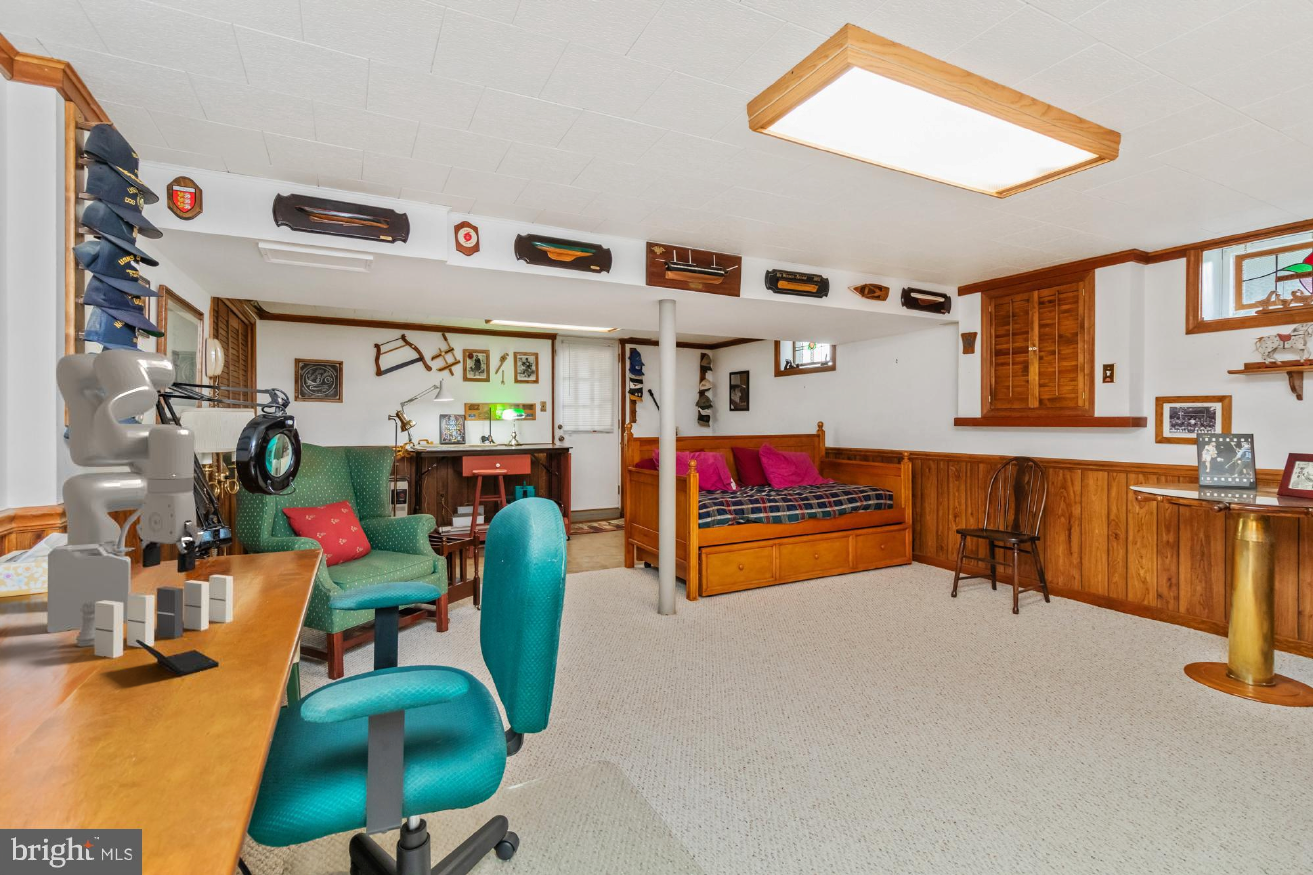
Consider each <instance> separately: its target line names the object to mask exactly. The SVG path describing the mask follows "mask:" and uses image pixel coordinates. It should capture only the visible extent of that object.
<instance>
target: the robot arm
mask: <svg viewBox="0 0 1313 875" xmlns="http://www.w3.org/2000/svg"><path fill="white" fill-rule="evenodd" d="M175 368H176V367H175V365H174V363H173V361H172V359H171V358H169V356H167V355H165V354H162V353H159V352H151V351H139V350H132V349H131V350H130V349H120V348H119V349H118V348H117V349H116V348H115V349H114V348H113V349H107V350H104V351H101V352H99V353H98V354H96V353H72V354H67V355H64V356H63V357H61V358H59V360H58V362H57V364H56V370H55V375H56V378H55V379H56V383H57V387H58V390H59V393H60V394H61V396H62V398H63V401H64V402H65V403H64V404H65V405H66V409H67V414H68V416H67V417H68V420H67V421H68V442H69V443H68V445H69V455H70V459H71V461H72V462H73V464H75V465H76V466H79V467H82V468H83V467H84V468H110V467H111V468H114V467H118V468H119V467H120V468H121V467H128V468H129V471H119V472H118V471H115V472H114V471H111V472H110V471H109V472H106V471H105V472H89V473H88V472H86V473H82V474H81V473H80V474H76V475H73V476H71V477H70V478H68V479H67V480H66V481H65V482H64V484H63V485H62V489H61V490H62V494H61V495H62V500H63V505H64V509H65V510H64V511H65V515H66V525H67V529H66V530H67V531H66V532H67V537H66V538H67V540H66V542H67V543H66V544H67V545H72V546H73V545H87V544H100V543H104V542H110V541H115V540H116V539H117V538H119V536H120V533H121V531H122V529H121V527H120V525H119V523H117V522H116V521H115V520H114V519H113V518H112V517H111V516H110V515H109V514H108V513H110V512H116V511H128V510H129V511H130V510H138V509H140V508H141V507H142V510H141V514H140V518H139V519H140V520H139V521H140V522H139V523H138V524H137V525H136V526H135V527H136V531H137V534H138V537H137V538H138V539H139V541H140V547H141V549H142V563H141V564H142V567H143V568H152V567H156V566H160V565H161V561H162V560H161V559H162V557H161V556H162V546H161V545H160V544H165V545H172V544H175V545H176V547H177V549H178V550H179V551H180V553H177V566H176V567H177V573H179V574H182V573H186V572H190V571H191V572H192V571H195V569H196V555H197V554H196V553H197V551H199V547H200V546H201V545H202V539H203V538H204V536H205V535H204V534H205V532H204V531H203V530H202V529H201V528H199V526H197V511H196V510H197V509H196V508H197V507H196V500H195V495H194V484H195V483H194V480H195V479H194V476H195V474H194V473H195V471H194V470H195V440H196V439H195V432H194V430H193V429H191V428H188V427H186V426H185V427H184V426H179V425H178V424H177V425H176V424H165V423H164V424H159V423H158V424H156V423H155V424H154V423H119V422H120V421H123V420H127V419H130V418H133V417H137V416H139V415H143V414H146V413H147V412H149V411H150V410H152V409H154V408H155V406H156V405H157V404H158V401H159V395H158V394H159V393H158V392H157V391H161V390H165V389H168V388H170V387H172V385H173V384H174V382H175V380H176V369H175ZM100 391H103V392H104V394H103V393H101V392H100ZM118 541H119V539H118ZM118 541H117V543H116V544H118ZM185 543H187V544H185ZM105 544H107V543H105ZM67 545H66V546H67ZM101 545H102V546H103V547H104V548H105V549H106V550H107V551H108V552H111V549H112V548H111V547H109V546H106V545H103V544H101ZM114 549H117V547H114ZM79 552H80V553H81V554H82V553H99V552H98V551H97V550H92V551H79Z"/></svg>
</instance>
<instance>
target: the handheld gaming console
mask: <svg viewBox="0 0 1313 875" xmlns="http://www.w3.org/2000/svg"><path fill="white" fill-rule="evenodd" d="M136 642H137V643H138V644H139V645H141V646H142V647H143V648H142V649H144V650H145V651H146V652H148V653H149V654H151V656H153V658H155V659H156V660H157V661H156V664H158V665H159V664H160V666H162V667H164V668H165V669H167V670H168V671H170V672H171V671H172V672H171V673H174V674H175V675H176V676H177V675H178V677H179V678H183V677H185V676H189V675H192V674H198V673H201V672H204V671H208V670H210V669H211V670H212V669H214V668H218V667H219V664H220V663H219V661H216V660H215V659H213V658H211V657H209V656H207V655H205V654H204V653H202V652H200V651H198V650H197V649H192V650H189V651H184V652H180V653H177V654H172V655H168V656H167V655H166V656H165V655H164V654H163V653H161V652H160V651H158V650H157V649H155V648H153V646H151V647H150V646H148V645H147V644H145V643H143V642H142V641H140V640H138V639H137V640H136ZM200 671H201V672H200Z"/></svg>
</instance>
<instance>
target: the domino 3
mask: <svg viewBox="0 0 1313 875" xmlns="http://www.w3.org/2000/svg"><path fill="white" fill-rule="evenodd" d="M183 629H184V587H183V588H182V587H174V586H167V585H166V586H161V587H157V588H156V637H160V638H165V639H166V638H167V639H172V640H173V639H174V640H175V639H176V640H177V639H179V638H182V637H184V636H183V634H184V633H183V632H184V630H183Z"/></svg>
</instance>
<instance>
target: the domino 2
mask: <svg viewBox="0 0 1313 875" xmlns="http://www.w3.org/2000/svg"><path fill="white" fill-rule="evenodd" d="M155 597H156V596H155V594H148V593H140V592H135V593H130V594H129V595H128V597H127V622H126V623H127V624H126V646H131V647H137V648H142V649H144V648H143V647H142V646H141V645H139V644H138V643H137V642H136V640H137V639H138V640H140V641H142V642H143V643H145V644H147V645H148V646H150V647H153V646H155V603H156V602H155V600H156V599H155Z"/></svg>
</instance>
